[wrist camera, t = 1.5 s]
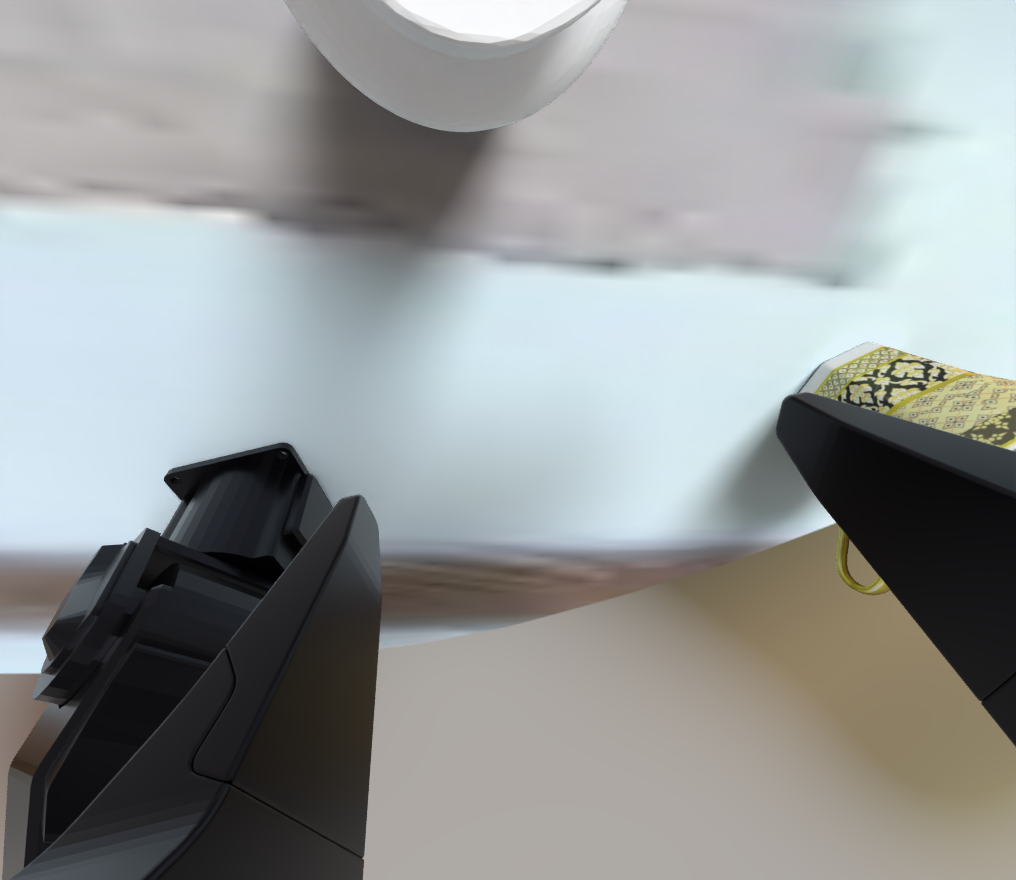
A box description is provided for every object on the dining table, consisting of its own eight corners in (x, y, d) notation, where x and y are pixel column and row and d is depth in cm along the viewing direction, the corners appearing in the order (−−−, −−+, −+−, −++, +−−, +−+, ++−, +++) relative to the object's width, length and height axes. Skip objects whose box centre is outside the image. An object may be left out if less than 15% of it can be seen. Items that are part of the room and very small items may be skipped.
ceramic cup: (843, 291, 23) (1064, 389, 15) (963, 337, 26) (1196, 438, 18) (705, 478, 30) (808, 612, 22) (813, 497, 33) (937, 620, 25)
